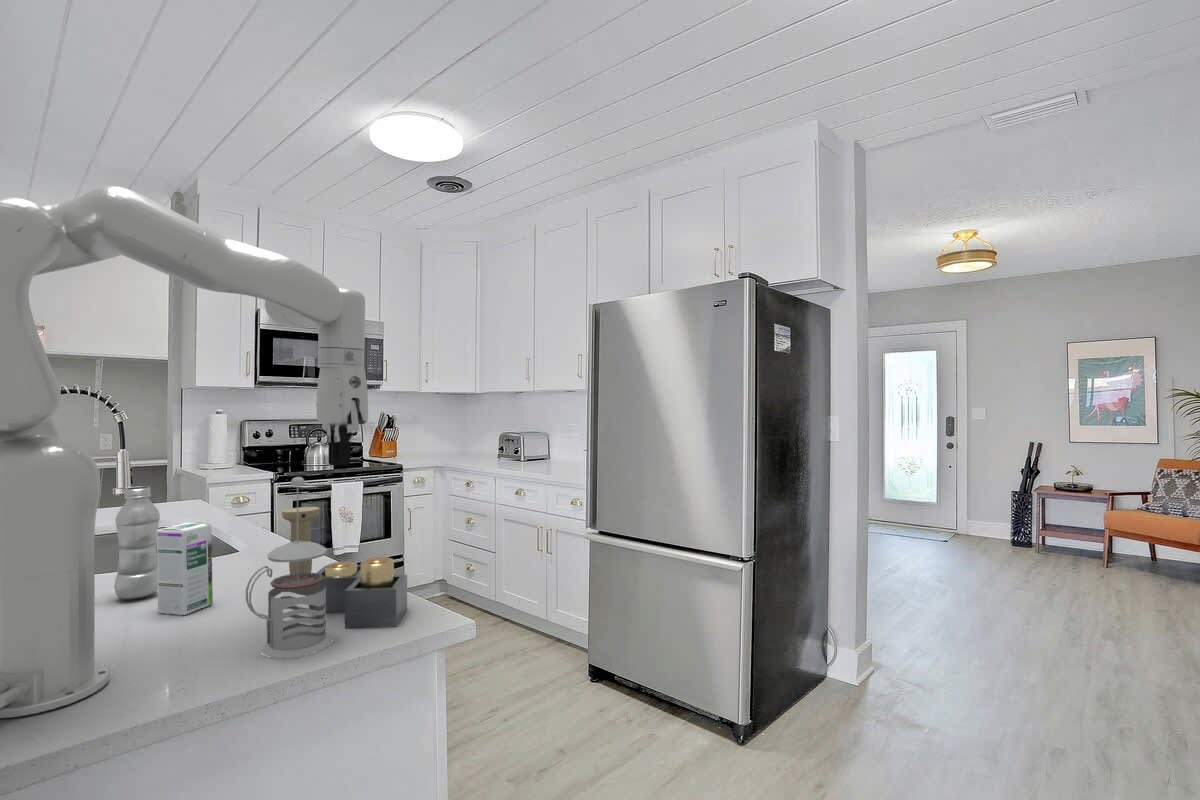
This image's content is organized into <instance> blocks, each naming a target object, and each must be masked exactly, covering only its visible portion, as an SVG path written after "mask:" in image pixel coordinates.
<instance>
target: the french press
mask: <svg viewBox="0 0 1200 800" xmlns="http://www.w3.org/2000/svg"><path fill="white" fill-rule="evenodd" d="M305 481H306V480H305V479H304V478H303V477H302V476H296V477H293V478H292V479H291V481H290V485H291V486H296V508H297V541H295V542H290V541H289V542H287V543H285V544H283V545H279V546H277V547H275V548H273V549H272V550H271V551H269V553H267V555H266V556H267V559H268V560H269V561H271V562H274V563H289V562H297V574H293V575H291V574H290V573H288V574H284V575H281V576H279V577H276V578H274V579H272V581H271V582H270V585H271V587H272V589H270V591H268V592H267V604H268V605H267V614H263V613H258V612H257V611H256V610H255V608H254V606H253V604H252V591H253V589H254V586H255V584H256V582H257V580H258V579H259V578H260V576H262V575H263V574H265V573H266V575H267V576H268V577H269V578H272V577H273V569H272V568H269V566H267V565H264V566H262V567H261V568H259V569H258V570H256V571H255V572H254V573H253V574H252V576H250V579H249V580H248V582H247V585H246V588H245V602H246V604H247V607H248V608H249V610H250V612H251V613H253V614H254V615H255V616H257V617H258V618H259V619H263V620H266V642H265V643H264V644H263V645H262V647H261V648H260V649H261V651H260V654H261V653H263V654H265V655H267V656H270V657H274V658H273V659H278V658H282V659H293V657H295V658H300V657H303V656H302V655H305V656H307V655H306V654H310V655H312V654H314V653H313V652H315V651H318V652H320V651H319V650H321V651H323V650H324V649H326V648H327V647H326V646H328V645H329V646H331V645H330V643H331V642H332V643H333V641H334V639H333V636H332V635H331V634H330V633H329V632H327V631H326V630H327V623H326V622H327V613H326V586H325V585H324V584H322V583H320V582H321V581H322V580H323V579H324V577H323V575H321V574H318V573H317V572H312V571H311V572H310V573H301V574H300V573H299V574H298V561H305V560H310V559H312V560H314V559H318V558H322V557H324V555H326V554H327V552H328V549H327V547H325V546H323V545H321V544H320V543H317V542H313V541H311V542H307V541H300V540H298V508H299V486H304V485H305V484H306V483H305ZM264 569H265V570H264ZM262 570H263V571H262ZM260 571H261V572H260ZM259 572H260V573H259ZM257 574H258V575H257ZM256 575H257V576H256ZM255 576H256V578H255V579H254V577H255ZM253 579H254V580H253ZM252 581H253V582H252ZM251 582H252V584H251ZM250 585H251V588H250ZM249 588H250V590H249ZM281 593H292V594H296V595H300V596H299V597H296V596H295V597H294V596H291V595H285V596H284V595H283V596H280V597H277V596H278V595H280V594H281ZM299 605H304V606H306V605H308V606H309V605H313V606H316V608H312V609H309V607H308V608H307V607H306V608H305V607H301V606H299ZM288 609H289V611H287V612H284V610H288ZM300 614H301V615H300ZM306 615H314V616H306ZM286 618H291V619H290V620H284V619H286ZM305 623H307V624H305ZM332 640H333V641H332ZM332 643H331V644H332ZM329 646H328V647H329ZM325 647H326V648H325ZM322 649H323V650H322ZM311 653H312V654H311ZM315 653H316V652H315ZM299 656H300V657H299ZM288 657H290V658H288ZM291 657H292V658H291Z"/></svg>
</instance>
